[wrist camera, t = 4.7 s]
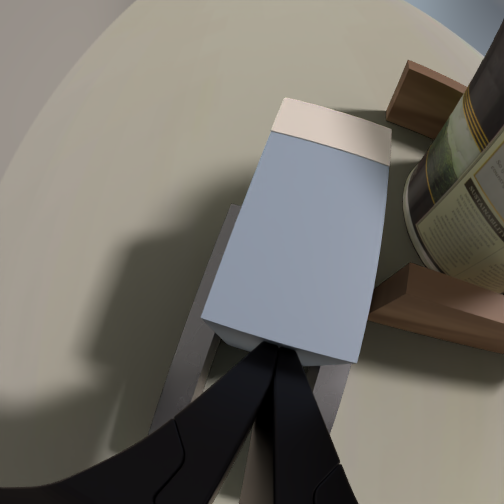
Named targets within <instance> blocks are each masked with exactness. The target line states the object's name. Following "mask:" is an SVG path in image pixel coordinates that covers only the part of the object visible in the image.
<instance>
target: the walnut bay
mask: <svg viewBox="0 0 504 504" xmlns="http://www.w3.org/2000/svg"><path fill="white" fill-rule="evenodd" d="M466 89H467V87H466V86H464V85H462V84H460V83H458V82H456V81H454V80H452V79H450V78H448V77H446V76H444V75H442V74H440V73H438V72H435V71H433V70H431V69H429V68H427V67H424V66H422V65H420V64H417V63H415V62H412V61H410V60H408V61H407V63H406V66H405V68H404V71H403V73H402V75H401V78H400V80H399V82H398V85H397V87H396V89H395V92H394V94H393V96H392V99H391V101H390V103H389V106H388V108H387V110H386V120H387V121H389V122H392V123H395V124H397V125H400V126H402V127H405V128H408V129H410V130H413V131H415V132H417V133H420V134H422V135H425V136H427V137H429V138H432V139H434V140H435V139H436V137H437V135H438V133H439V132H440V131H441V129H442V128H443V126H444V124H445V123H446V121H447V120H448V118H449V116H450V115H451V113H452V112H453V110H454V109H455V107H456V106H457V104H458V102H459V101H460V99H461V97H462V96H463V94H464V92H465V91H466ZM367 320H368V321H372V322H376V323H379V324H383V325H387V326H390V327H394V328H398V329H402V330H406V331H410V332H413V333H417V334H421V335H425V336H429V337H433V338H437V339H441V340H445V341H449V342H453V343H458V344H462V345H466V346H470V347H474V348H479V349H483V350H487V351H492V352H496V353H501V354H504V295H501V294H499V293H496V292H493V291H491V290H488V289H485V288H482V287H480V286H477V285H474V284H471V283H469V282H466V281H463V280H460V279H457V278H454V277H452V276H449V275H446V274H443V273H440V272H437V271H434V270H431V269H428V268H425V267H423V266H420V265H417V264H414V263H411V262H410V263H408V264H407V265H406V266H405V267H403V268H402V269H401V270H399V271H398V272H397V273H395V274H394V275H393V276H391V277H390V278H388V279H387V280H386V281H384V282H383V283H382V284H380V285H379V286H377V287H376V288H375V289H373V294H372V299H371V304H370V309H369V314H368V319H367Z"/></svg>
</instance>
